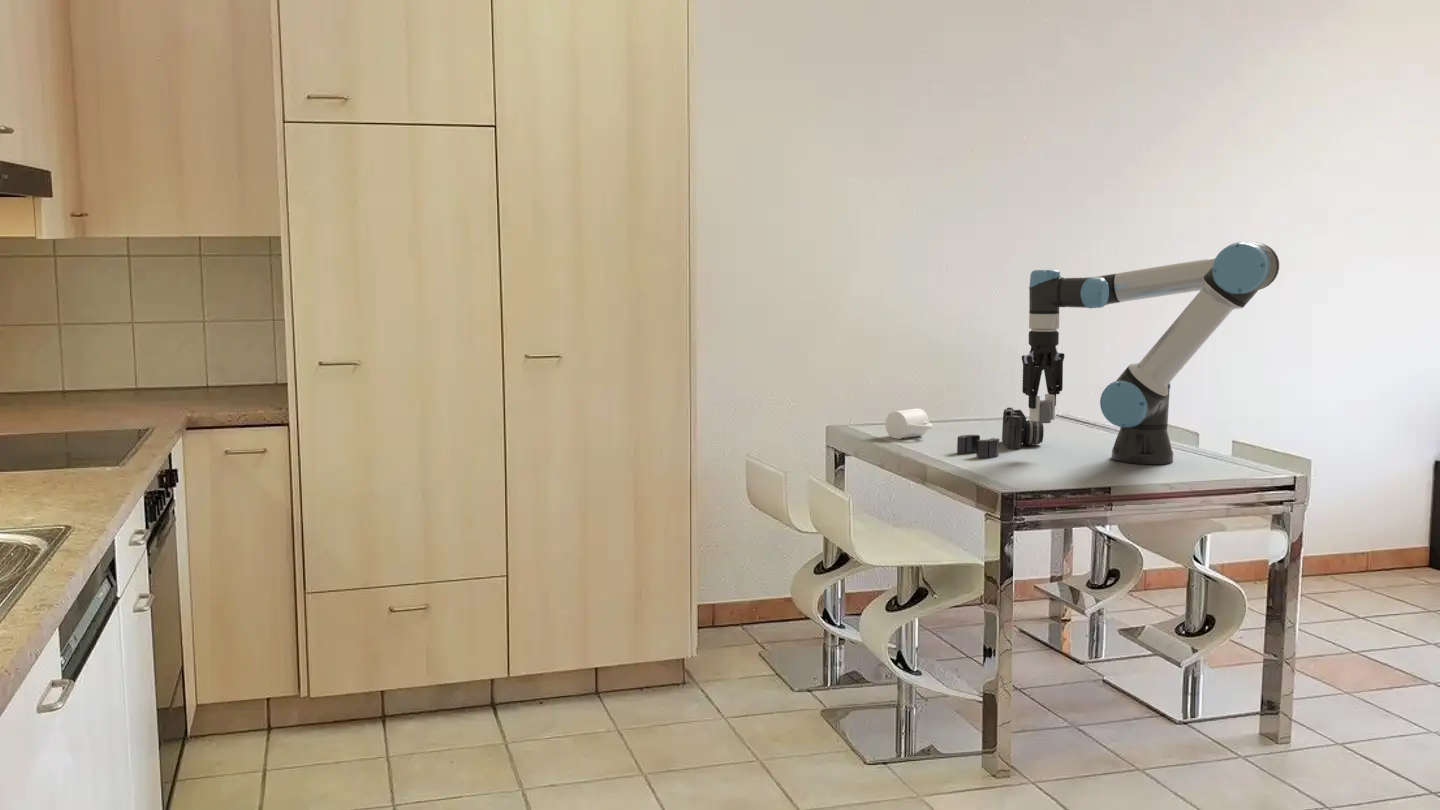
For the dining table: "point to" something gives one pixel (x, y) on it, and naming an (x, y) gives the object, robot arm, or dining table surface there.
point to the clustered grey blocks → (978, 446)
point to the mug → (907, 423)
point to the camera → (1020, 430)
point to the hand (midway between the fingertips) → (1042, 419)
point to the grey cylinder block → (1044, 412)
